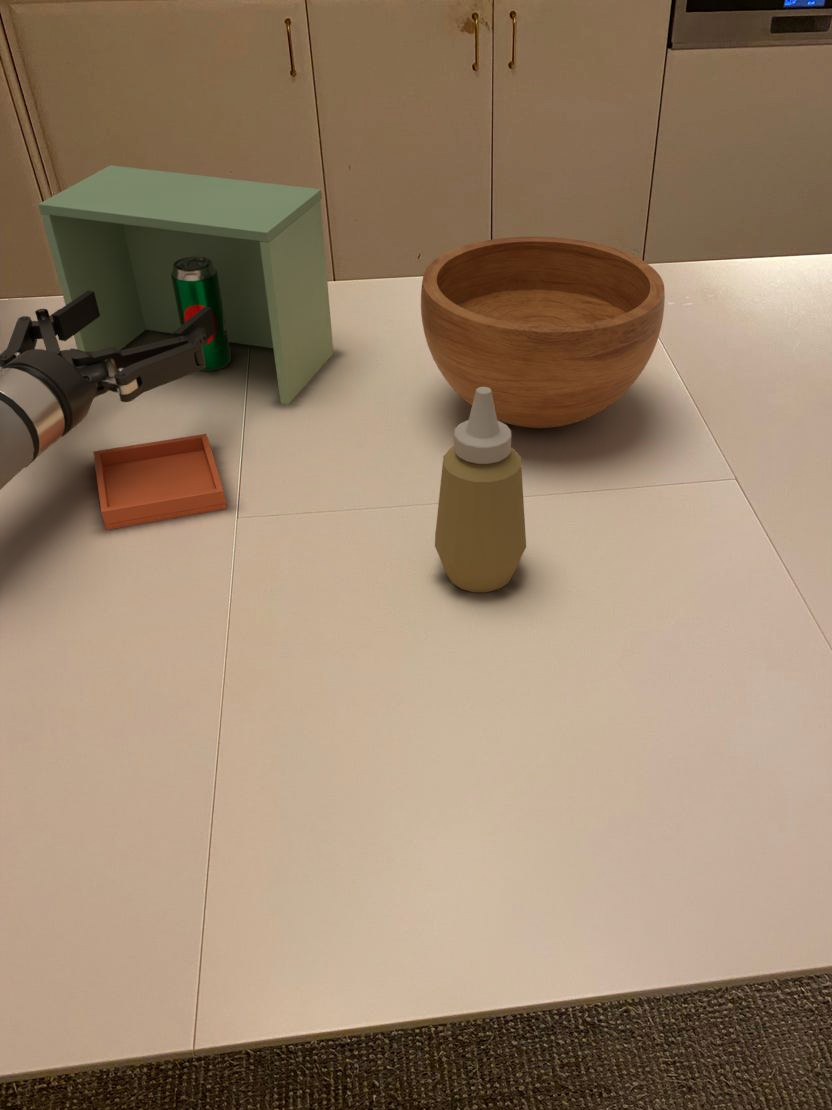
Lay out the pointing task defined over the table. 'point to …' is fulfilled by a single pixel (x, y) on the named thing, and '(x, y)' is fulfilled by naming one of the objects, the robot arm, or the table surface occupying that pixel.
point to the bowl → (541, 325)
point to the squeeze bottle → (481, 502)
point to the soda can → (202, 304)
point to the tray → (157, 481)
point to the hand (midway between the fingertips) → (151, 311)
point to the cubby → (204, 231)
